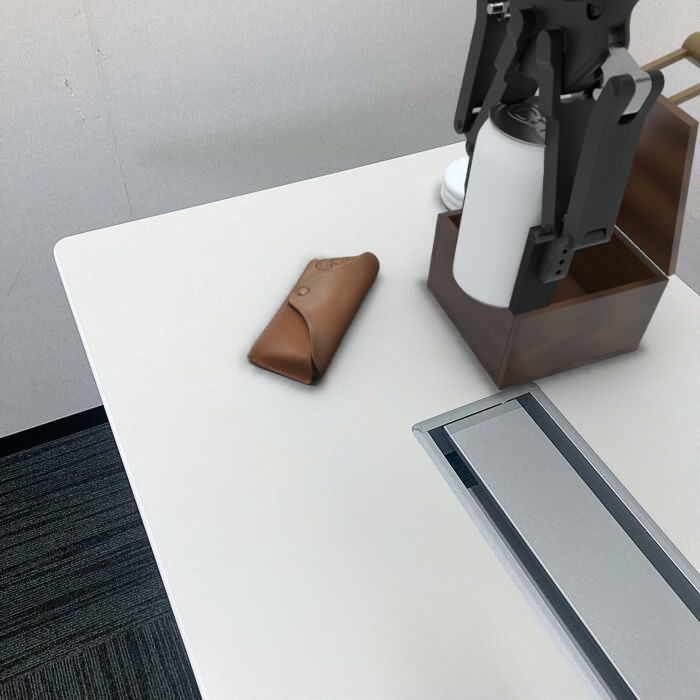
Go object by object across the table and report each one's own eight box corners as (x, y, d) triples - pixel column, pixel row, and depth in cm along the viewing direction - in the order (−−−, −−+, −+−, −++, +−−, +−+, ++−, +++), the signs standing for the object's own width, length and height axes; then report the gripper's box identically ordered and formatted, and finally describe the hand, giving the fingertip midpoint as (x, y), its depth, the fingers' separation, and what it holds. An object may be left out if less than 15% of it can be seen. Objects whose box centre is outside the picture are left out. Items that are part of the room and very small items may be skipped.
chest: (499, 390, 74) (520, 319, 67) (426, 284, 85) (437, 213, 78) (637, 349, 79) (670, 279, 72) (551, 254, 90) (573, 184, 82)
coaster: (534, 204, 96) (540, 181, 94) (481, 233, 92) (486, 209, 89) (476, 169, 101) (481, 146, 99) (423, 195, 97) (427, 171, 94)
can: (514, 240, 54) (554, 83, 46) (565, 297, 50) (620, 137, 42) (434, 260, 52) (460, 100, 44) (481, 321, 48) (520, 158, 40)
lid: (690, 126, 58) (804, 71, 59) (570, 35, 68) (668, -11, 69) (668, 277, 72) (760, 232, 72) (571, 182, 82) (652, 143, 83)
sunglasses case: (309, 254, 87) (339, 221, 82) (357, 291, 88) (389, 260, 83) (241, 361, 75) (271, 329, 70) (298, 401, 76) (331, 373, 71)
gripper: (427, -165, 39) (390, 202, 56) (669, -24, 27) (529, 390, 44) (549, -172, 41) (478, 184, 58) (824, -45, 29) (634, 358, 46)
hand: (500, 272), depth 51 cm, fingers closed on can, 6 cm apart
